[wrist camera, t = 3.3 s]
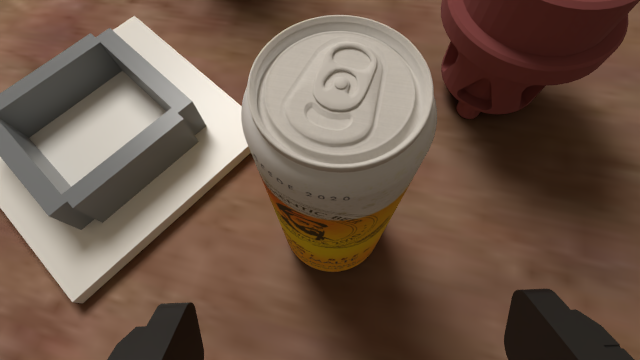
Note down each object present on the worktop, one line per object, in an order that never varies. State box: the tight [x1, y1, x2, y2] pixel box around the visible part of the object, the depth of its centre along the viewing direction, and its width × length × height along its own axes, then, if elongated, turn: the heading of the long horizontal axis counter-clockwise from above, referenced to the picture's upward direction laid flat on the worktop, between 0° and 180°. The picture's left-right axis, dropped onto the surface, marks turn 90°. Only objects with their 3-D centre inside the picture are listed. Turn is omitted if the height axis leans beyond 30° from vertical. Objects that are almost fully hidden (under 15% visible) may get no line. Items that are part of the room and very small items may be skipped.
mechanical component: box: [441, 0, 640, 119], centre depth 23 cm, size 12×10×10 cm
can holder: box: [0, 16, 251, 303], centre depth 25 cm, size 16×16×4 cm
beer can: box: [241, 15, 437, 272], centre depth 17 cm, size 6×6×15 cm
